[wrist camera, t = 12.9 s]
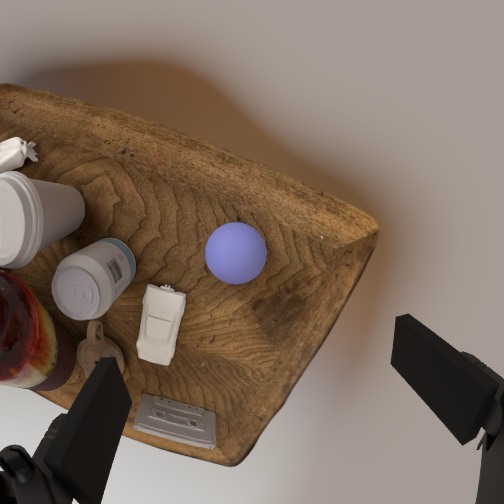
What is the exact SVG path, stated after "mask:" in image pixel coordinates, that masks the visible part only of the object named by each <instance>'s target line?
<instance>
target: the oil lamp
mask: <svg viewBox="0 0 504 504" xmlns="http://www.w3.org/2000/svg"><path fill="white" fill-rule="evenodd" d="M76 355H77V359H78V362H79V364H80V366H81V367H82V369H83V370H84V372H85V373H86V374H85V376H86V378H88V377H89V376H90V374H91V372H92V371H93V369H94V367H95V366H96V364H97V363H98V361H99V359H100V358H101V357H116V360H117V363H118V366H119V369H120V371H121V374H122V375H123V372H124V368H125V364H124V358H123V354H122V352H121V350H120V348H119V347H118V345H117V344H115V343H114V342H113V341H112V340H110V339H109V338H107V337H105V336H104V335H103V325H102V323H101V321H99V320H94V319H92V320H91V321H90V323H89V325H88V328H87V338H85V339H83V340H82V341H81V342H80V343H79V344H78V346H77V351H76Z"/></svg>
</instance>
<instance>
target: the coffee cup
mask: <svg viewBox="0 0 504 504" xmlns="http://www.w3.org/2000/svg"><path fill="white" fill-rule="evenodd" d="M84 215H85V204H84V200H83V197H82V195H81V194H80V192H79V191H78V190H77V189H75V188H74V187H72V186H68V185H62V184H57V183H51V182H46V181H40V180H34V179H29V178H27V177H26V176H25V175H23V174H22V173H19V172H16V171H6V172H3V173H1V174H0V267H3V268H7V269H18V268H21V267H24V266H25V265H27V264H28V263H29V262H30V261H31V260H32V259H33V258H34V256H35V255H36V253H38V252H39V251H41V250H42V249H44V248H46V247H48V246H49V245H51V244H53V243H54V242H56V241H58V240H60V239H61V238H63V237H65V236H67V235H69V234H70V233H72V232H74V231H75V230H77V229H78V228H79V226H80V225H81V223H82V221H83V219H84Z"/></svg>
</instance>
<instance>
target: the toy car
mask: <svg viewBox="0 0 504 504" xmlns="http://www.w3.org/2000/svg"><path fill="white" fill-rule="evenodd" d="M185 298H186V294H184V293H181V292H174V289H171V288H170V285H169V286H168V287H167V284H165V287H164V286H160V288H159V287H157V286H155V285H152V284H148V285H147V288H146V292H145V294H144V297H143V301H142V304H143V311H142V318H141V324H140V331H139V337H138V340H137V345H136V346H137V349H138V357H139V358H141V359H144V360H146V361H149V362H153V363H157V364H161V365H167V366H168V365H169V363H170V361H171V358H173V355H174V351H175V347H176V344H175V343H176V339H177V334H178V330H179V326H180V321H181V318H182V316H183V314H184V309H185V304H186V300H185Z"/></svg>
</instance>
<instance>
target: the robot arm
mask: <svg viewBox="0 0 504 504" xmlns="http://www.w3.org/2000/svg"><path fill="white" fill-rule="evenodd" d="M391 365H392V366H393V367H394V368H395V369H396V370H397V372H398V373H399V374H400V375H401V376H402V377H403V378H404V379H405V381H406V382H407V383H408V384H409V385H410V386H411V387H412V388H413V390H414V391H415V392H416V393H417V394H418V395H419V396H420V397H421V398H422V400H423V401H424V402H425V403H426V404H427V405H428V406H429V408H430V409H431V410H432V411H433V412H434V413H435V414H436V416H437V417H438V418H439V419H440V420H441V421H442V422H443V424H444V425H445V426H446V427H447V428H448V429H449V431H450V432H451V433H452V434H453V435H454V436H455V438H456V439H457V440H458V441H459V442H460V443H461V445H464V444H466V443H468V442H469V441H471V440H473V439H474V438H476V436H477V434H478V433H479V431H480V428H481V427H482V428H483V429H484V430H485V433H484V435H483V437H482V439H481V441H480V442H479V444H478V447H477V450H479V449H480V447H481V445H482V444H483V447H482V460H481V469H480V478H479V485H478V492H477V498H476V503H475V504H504V379H503V378H502V377H501V376H500V375H498V374H497V373H496V372H494V371H493V370H492V369H491V368H489V367H487V365H485V364H484V363H483V362H481V361H480V360H479V359H478V358H476V357H475V356H474V355H471V354H469V353H466V352H459V351H458V350H456V349H455V348H453V347H452V346H451V345H450V344H448V343H447V342H446V341H444V340H443V339H442V338H441V337H439V336H438V335H437V334H435V333H434V332H433V331H431V330H430V329H429V328H427V327H426V326H425V325H423V324H422V323H420V322H419V321H418V320H416V319H415V318H414V317H412V316H411V315H410V314H405V315H401V316H397V317H396V321H395V332H394V340H393V350H392V357H391ZM132 403H133V402H132V400H131V398H130V395H129V393H128V390H127V387H126V385H125V382H124V380H123V377H122V374H121V371H120V369H119V366H118V363H117V360H116V357H101V358H100V359H99V361H98V363H97V364H96V366H95V367H94V369H93V371H92V372H91V374H90V376H89V377H88V379H87V381H86V382H85V384H84V386H83V387H82V389H81V391H80V392H79V394H78V396H77V397H76V399H75V401H74V403H73V404H72V406H71V408H70V410H69V411H68V413H67V414H62V413H61V414H60V415H59V416H58V417H56V418H55V419H54V420H53V421H52V423H51V425H50V426H49V428H48V431H47V432H46V433H45V435H44V438H43V439H42V440H41V442H40V444H39V446H38V447H37V449H36V451H35V453H34V455H33V457H32V458H31V457H30V455H29V454H28V453H27V451H26V450H25V449H24V448H23V447H22V446H20V445H10V446H7V447H5V448H4V449H3V450H2V451H1V452H0V466H1V468H2V469H3V470H4V471H0V504H72V501H73V498H74V499H75V500H77V502H78V503H79V504H101V501H102V498H103V494H104V490H105V487H106V483H107V480H108V476H109V473H110V469H111V467H112V463H113V460H114V457H115V454H116V450H117V447H118V444H119V441H120V438H121V435H122V432H123V429H124V426H125V423H126V420H127V417H128V414H129V411H130V408H131V405H132Z"/></svg>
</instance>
